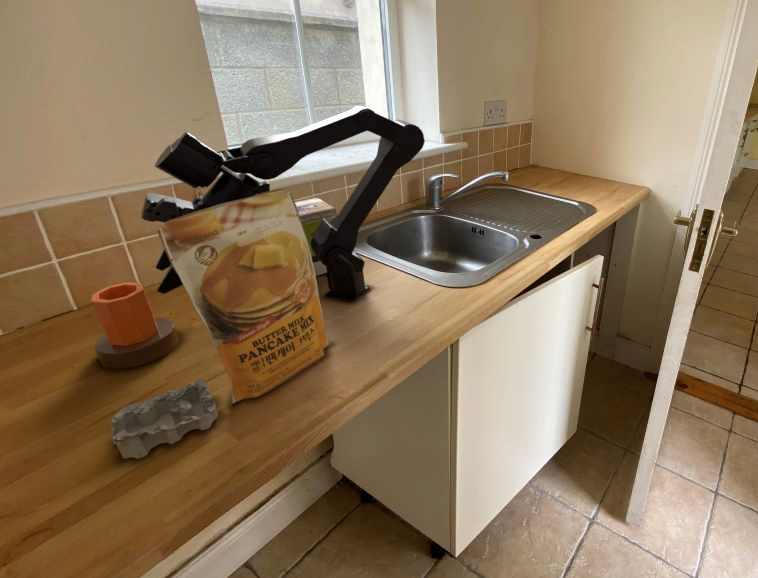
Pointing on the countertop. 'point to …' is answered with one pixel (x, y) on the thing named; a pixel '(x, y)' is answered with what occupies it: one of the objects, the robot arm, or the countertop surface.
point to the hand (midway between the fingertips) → (159, 280)
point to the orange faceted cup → (125, 313)
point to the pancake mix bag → (251, 287)
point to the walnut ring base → (138, 348)
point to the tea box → (314, 223)
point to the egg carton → (163, 419)
